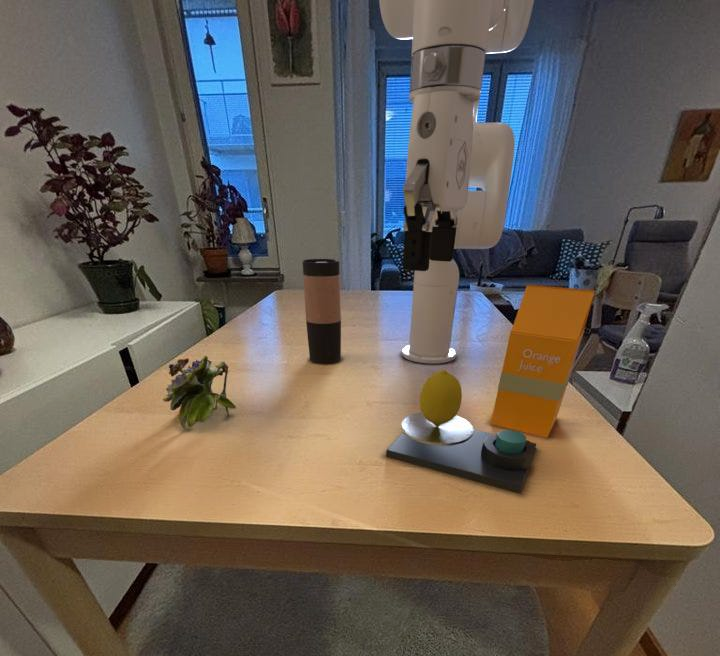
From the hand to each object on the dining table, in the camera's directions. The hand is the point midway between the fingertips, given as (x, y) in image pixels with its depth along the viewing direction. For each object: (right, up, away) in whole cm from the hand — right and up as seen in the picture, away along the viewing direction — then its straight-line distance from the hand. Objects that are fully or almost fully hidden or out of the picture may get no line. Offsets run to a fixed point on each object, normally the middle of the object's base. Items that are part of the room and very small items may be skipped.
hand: (429, 265), depth 51 cm
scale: (+5, -24, +4) cm, 25 cm away
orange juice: (+18, -19, +13) cm, 29 cm away
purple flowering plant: (-34, -17, +15) cm, 41 cm away
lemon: (+2, -21, +4) cm, 21 cm away
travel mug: (-17, 0, +40) cm, 43 cm away
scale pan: (+2, -21, +4) cm, 21 cm away
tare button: (+11, -24, 0) cm, 26 cm away
